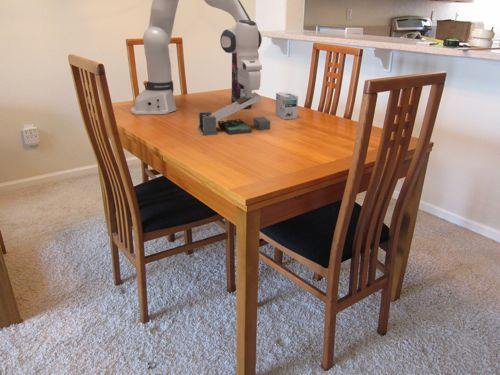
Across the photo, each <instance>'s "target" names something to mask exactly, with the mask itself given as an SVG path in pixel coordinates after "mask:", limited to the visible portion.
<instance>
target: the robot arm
mask: <svg viewBox="0 0 500 375" xmlns="http://www.w3.org/2000/svg"><path fill="white" fill-rule="evenodd" d="M203 1H204V2H205V3H206V5H208V6H210V7H212V8H215V9H218V10H221V11H223V12H226V13H228V14H229V15H231V17H232V18H233V19H234V22H235V23H236V24H234V25H233V26H232V27H230V28H227V29H224V30H223V31H222V33H221V35H220V38H219V39H220V40H219V42H220V46H221V49H222V50H223V51H224V52H225V53H227V54H232V53H237V68H238V75H237V79H238V83H240V84H242V85H243V86H244V90H245V96H246V97H247V98H251V94H252V92H253V91H259V90H260V88H261V75H262V74H261V70H262V69H263V66H262V63H261V61H260V59H259V56H260V55H259V54H260V53H259V51H258V50H259V49H260V47H261V45H262V40H263V39H262V34H261V32H260V30H259V29H258V25H257V23H256V22H255V21H254V20H252V19H251V18H250V16H249V14H248V13H247V11H246V9H245V7H244V5H243V4H242V2H241V0H203ZM178 5H179V0H152V3H151V7H150V16H149V22H148V28H147V29H146V30H145V31H144V32H143V36H142V41H143V42H142V43H143V49H144V55H145V60H146V64H147V76H148V78H147V80H148V81H146V80H144V81H143V86H144V89H143V91H142V92H140V93H139V94H138V95H137V96H136V97H135V100H134V105H133V106H132V107H131V108H130V113H131V114H133V115H168V114H169V113H172V112H175V111H177V110H178V108H177V104H176V102H175V96H174V91H175V90H174V82H173V80H172V78H173V77H172V62H171V58H170V50H169V45H170V43H171V39H172V35H173V31H174V30H173V29H174V24H175V18H176V14H177V10H178V9H177V8H178Z"/></svg>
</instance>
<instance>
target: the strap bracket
mask: <svg viewBox="0 0 500 375" xmlns="http://www.w3.org/2000/svg"><path fill="white" fill-rule="evenodd" d="M210 114H212V111H210V110H209V111H199V112H198V125H197V129H198V130H199V132H200V133H201V134H202V136H213V135H218V131H217V122H216V117H215V116H212V117H206V116H208V115H210ZM252 121H253V122H252V123H253V126H254V127H255V128H256V129H257V130H259V131H261V130H262V131H263V130H265V131H266V130H271V120H270V119H268V118H267V117H265V116H256V117H253V119H252Z"/></svg>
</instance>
